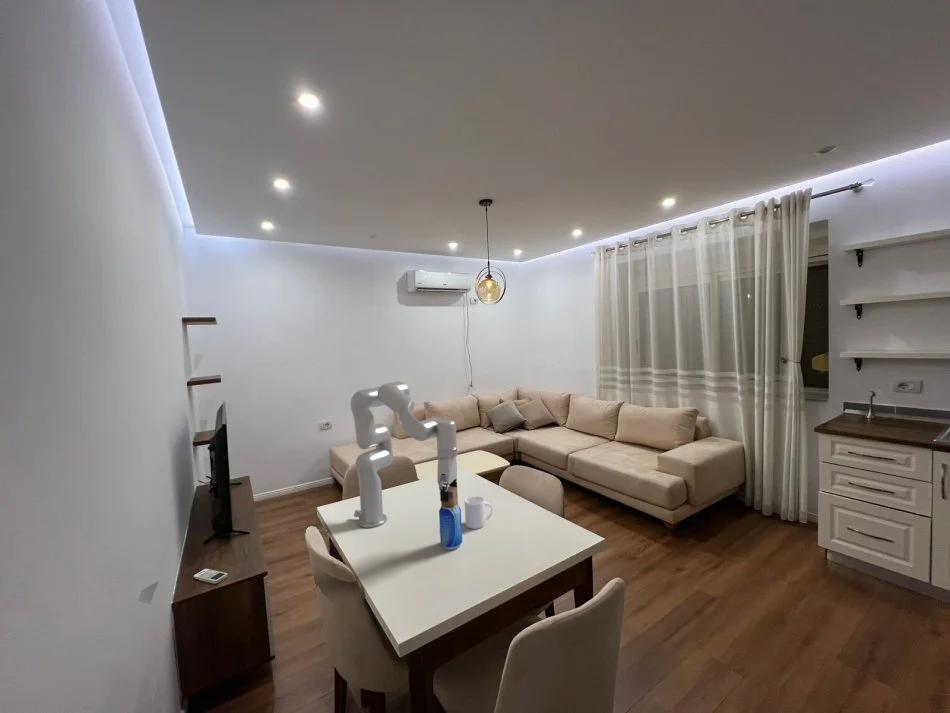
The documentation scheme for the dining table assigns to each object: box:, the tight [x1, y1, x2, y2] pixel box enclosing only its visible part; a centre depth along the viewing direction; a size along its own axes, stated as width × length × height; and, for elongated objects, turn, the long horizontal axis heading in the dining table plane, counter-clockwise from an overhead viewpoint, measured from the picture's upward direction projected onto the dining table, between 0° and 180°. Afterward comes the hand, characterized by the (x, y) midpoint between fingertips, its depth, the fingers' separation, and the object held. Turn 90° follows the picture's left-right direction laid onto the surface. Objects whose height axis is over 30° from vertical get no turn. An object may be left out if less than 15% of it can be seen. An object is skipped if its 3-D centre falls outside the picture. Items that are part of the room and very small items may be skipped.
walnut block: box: [440, 485, 459, 508], centre depth 149 cm, size 5×5×6 cm
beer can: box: [438, 502, 463, 551], centre depth 149 cm, size 8×8×16 cm
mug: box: [464, 495, 493, 530], centre depth 166 cm, size 9×12×11 cm
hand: (449, 496), depth 149 cm, fingers open, 9 cm apart
